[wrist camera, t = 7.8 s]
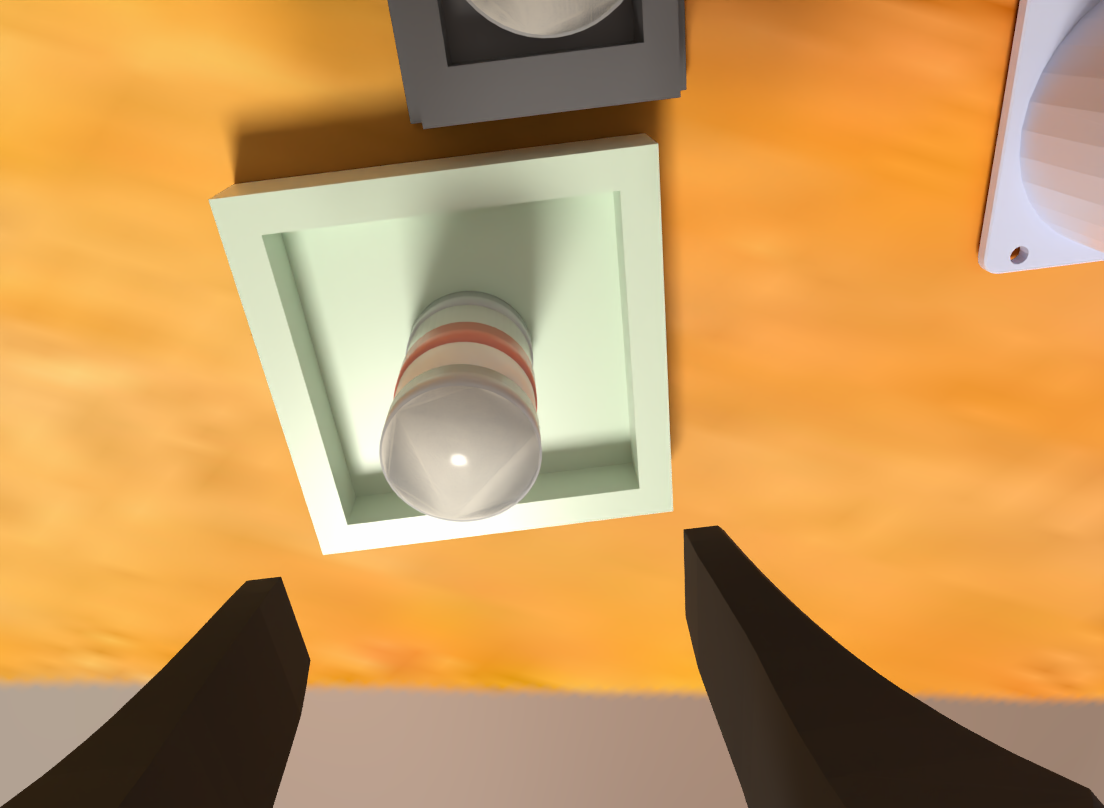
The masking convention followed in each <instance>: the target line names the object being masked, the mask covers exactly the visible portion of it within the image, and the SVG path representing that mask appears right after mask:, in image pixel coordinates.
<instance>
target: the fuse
mask: <svg viewBox="0 0 1104 808" xmlns="http://www.w3.org/2000/svg"><path fill="white" fill-rule="evenodd" d="M466 1H467V2H468V3H469V4H470V5H471V6H472V7H473V8H474V9H475V10H476V11H477V12H478V13H480V14H481V15H482V16H484V17H485V18H486V19H488V20H489V21H490V22H492V23H494V24H496V25H497V26H499V27H501V28H503V29H505V30H508V31H510V32H513V33H515V34H519V35H523V36H527V37H535V38H557V37H562V36H567V35H572V34H574V33H577V32H580V31H583V30H585V29H587V28H589V27H591V26H593V25H595V24H597V23H598V22H599V21H601V20H602V19H604V18H605V17H607V16H608V15H609V14H610V13H611V12H612V11H613V10H615V9H616V8H617V7H618V6H619V5H620V4H621V3H622V1H623V0H466Z"/></svg>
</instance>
